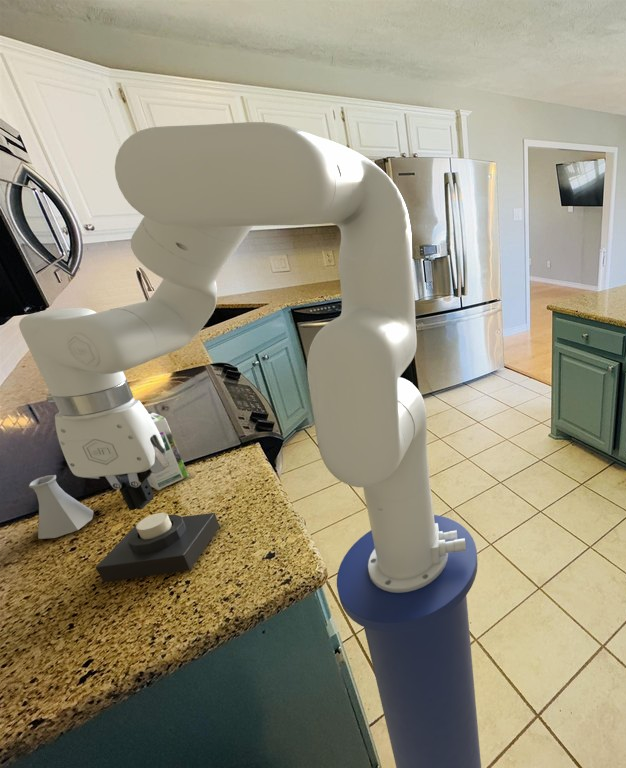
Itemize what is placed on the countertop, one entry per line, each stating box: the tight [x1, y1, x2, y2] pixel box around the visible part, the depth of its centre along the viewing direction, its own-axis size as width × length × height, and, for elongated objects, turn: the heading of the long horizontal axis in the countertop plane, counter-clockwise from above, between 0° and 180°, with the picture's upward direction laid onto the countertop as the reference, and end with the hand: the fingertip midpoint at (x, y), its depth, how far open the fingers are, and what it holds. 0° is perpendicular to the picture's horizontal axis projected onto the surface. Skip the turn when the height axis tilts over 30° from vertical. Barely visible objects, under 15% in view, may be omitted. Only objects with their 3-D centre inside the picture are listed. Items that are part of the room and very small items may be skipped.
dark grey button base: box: [95, 512, 220, 583], centre depth 67 cm, size 12×10×5 cm
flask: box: [28, 474, 94, 540], centre depth 72 cm, size 7×7×10 cm
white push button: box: [135, 512, 172, 540], centre depth 66 cm, size 4×4×2 cm
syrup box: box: [147, 412, 189, 492], centre depth 84 cm, size 6×6×14 cm
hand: (142, 503), depth 64 cm, fingers closed
